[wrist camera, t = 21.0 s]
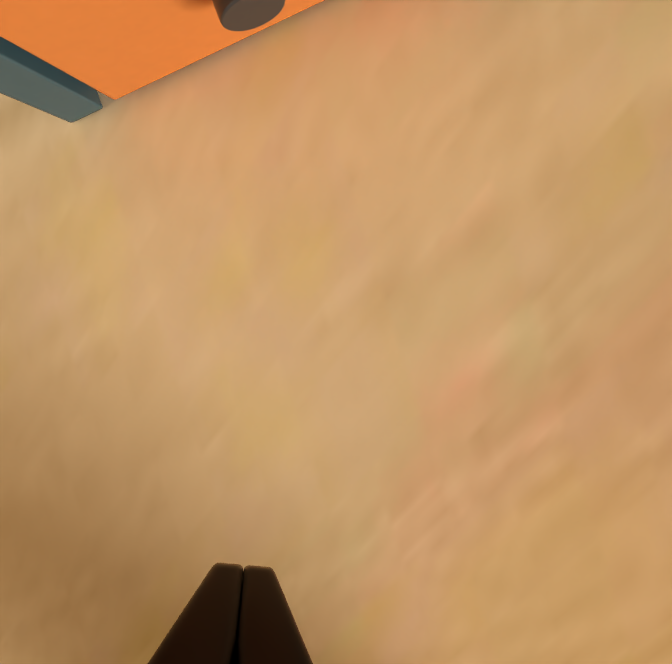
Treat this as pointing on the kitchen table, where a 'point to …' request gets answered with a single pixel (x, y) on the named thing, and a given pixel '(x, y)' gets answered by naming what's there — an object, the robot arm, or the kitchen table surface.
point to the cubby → (44, 85)
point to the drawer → (134, 34)
